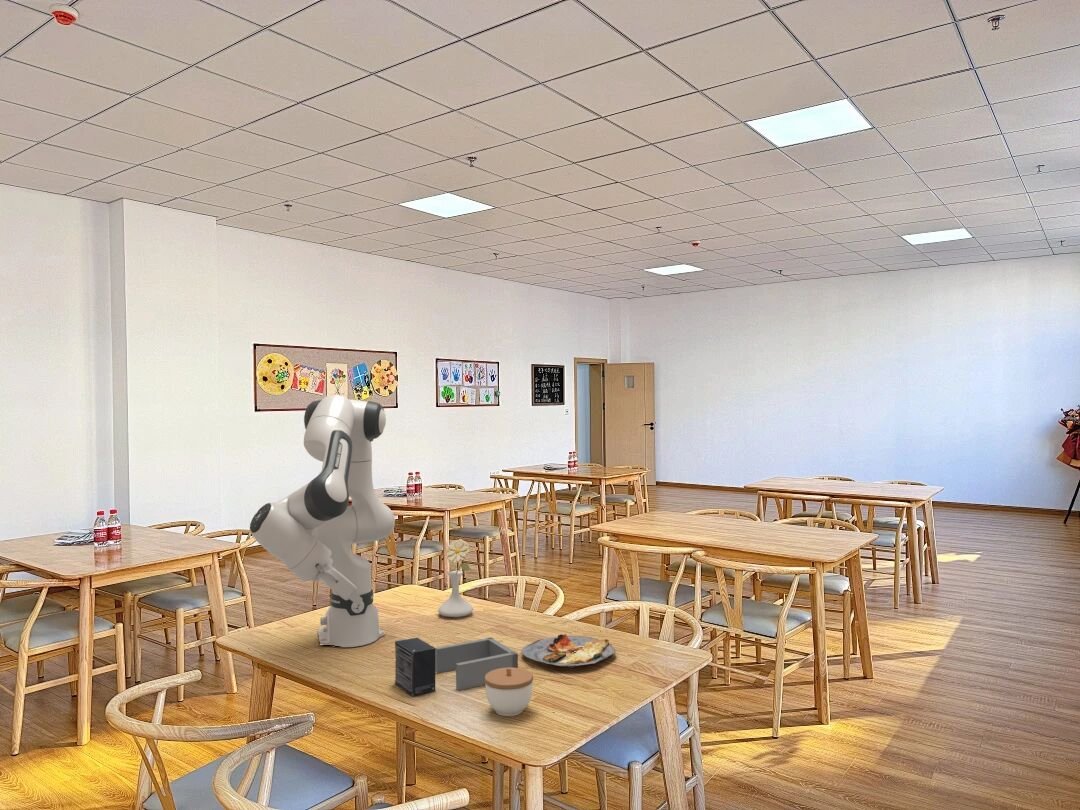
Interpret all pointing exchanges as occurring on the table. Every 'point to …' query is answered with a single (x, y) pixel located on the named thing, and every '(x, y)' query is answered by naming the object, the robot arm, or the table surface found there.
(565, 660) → the food plate
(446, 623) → the table surface
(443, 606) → the flower in vase
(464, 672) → the box
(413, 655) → the small box
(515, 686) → the lidded jar
